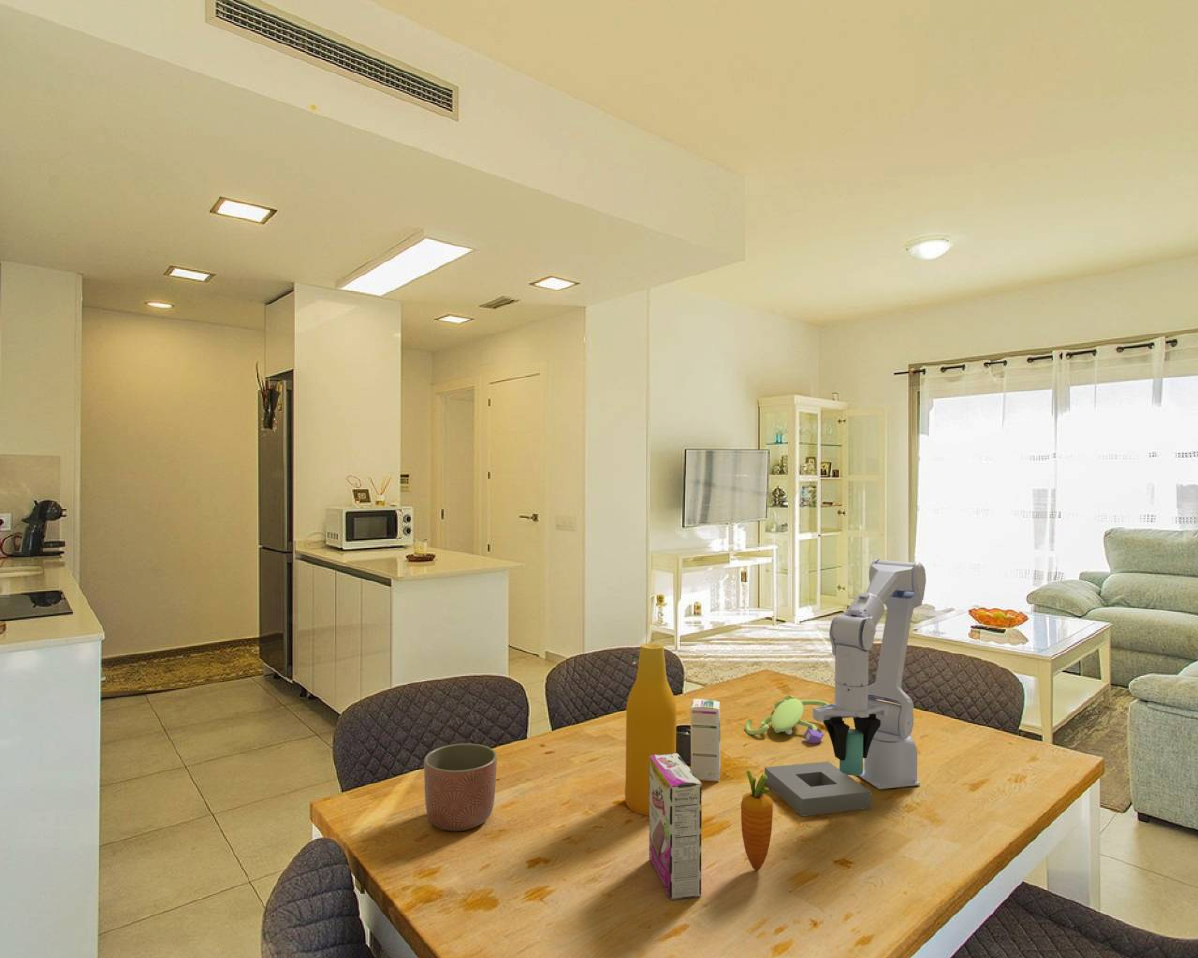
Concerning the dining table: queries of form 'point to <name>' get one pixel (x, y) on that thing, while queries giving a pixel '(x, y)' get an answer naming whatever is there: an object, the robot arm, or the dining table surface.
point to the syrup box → (705, 739)
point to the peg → (853, 754)
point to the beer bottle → (648, 724)
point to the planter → (460, 785)
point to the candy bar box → (675, 825)
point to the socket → (817, 788)
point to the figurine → (790, 719)
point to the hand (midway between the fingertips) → (850, 757)
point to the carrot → (756, 821)
